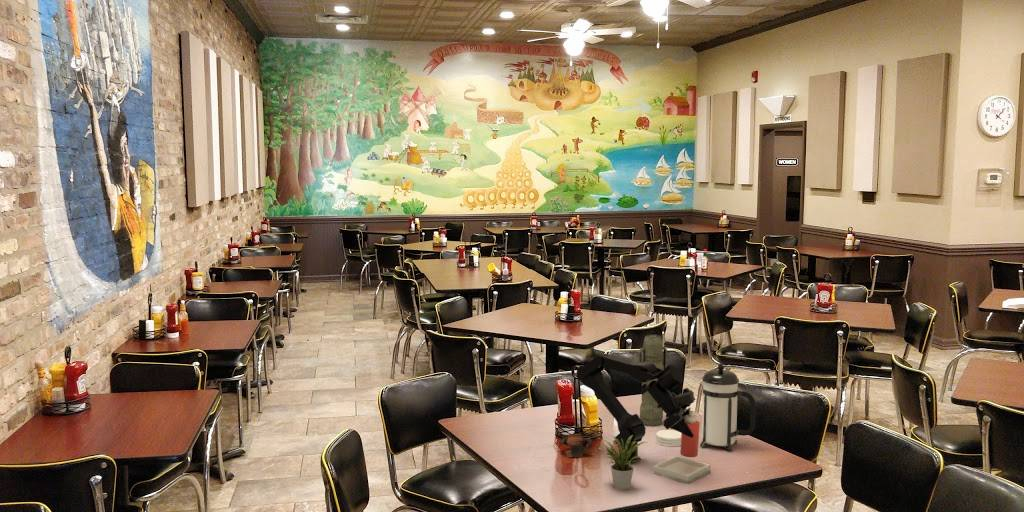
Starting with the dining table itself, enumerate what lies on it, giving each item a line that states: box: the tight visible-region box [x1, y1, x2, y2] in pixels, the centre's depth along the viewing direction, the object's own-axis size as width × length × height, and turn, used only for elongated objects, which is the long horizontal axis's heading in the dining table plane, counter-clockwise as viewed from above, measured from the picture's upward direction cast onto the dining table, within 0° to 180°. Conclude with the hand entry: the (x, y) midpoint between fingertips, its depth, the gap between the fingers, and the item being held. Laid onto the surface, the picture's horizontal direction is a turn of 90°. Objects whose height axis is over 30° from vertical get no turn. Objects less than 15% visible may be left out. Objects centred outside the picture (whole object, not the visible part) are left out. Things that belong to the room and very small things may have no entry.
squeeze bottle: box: [679, 410, 701, 458], centre depth 275 cm, size 6×6×15 cm
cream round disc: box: [655, 429, 681, 448], centre depth 307 cm, size 10×10×4 cm
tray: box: [652, 455, 711, 484], centre depth 276 cm, size 14×13×2 cm
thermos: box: [637, 334, 668, 427], centre depth 329 cm, size 9×12×35 cm
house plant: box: [603, 435, 647, 490], centre depth 264 cm, size 14×14×16 cm
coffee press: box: [698, 363, 757, 452], centre depth 302 cm, size 17×16×30 cm
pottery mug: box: [559, 433, 594, 459], centre depth 295 cm, size 12×10×8 cm
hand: (694, 434), depth 275 cm, fingers closed on squeeze bottle, 6 cm apart
